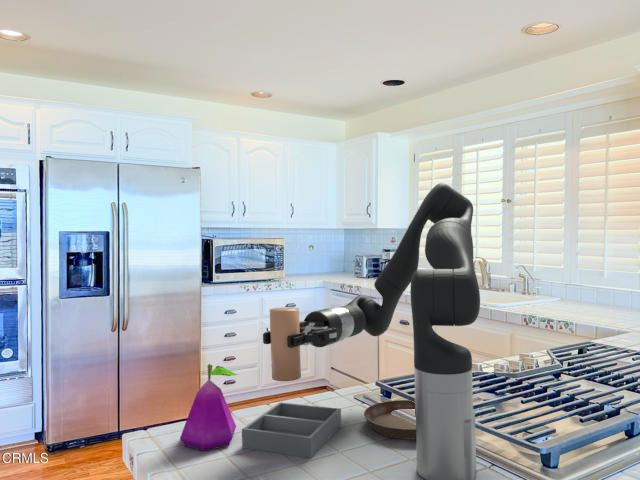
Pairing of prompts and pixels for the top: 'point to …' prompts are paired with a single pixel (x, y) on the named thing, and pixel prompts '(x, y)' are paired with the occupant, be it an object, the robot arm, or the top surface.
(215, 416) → the pear
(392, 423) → the object
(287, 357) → the peach pillar candle
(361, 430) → the top surface
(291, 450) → the divided storage tray
